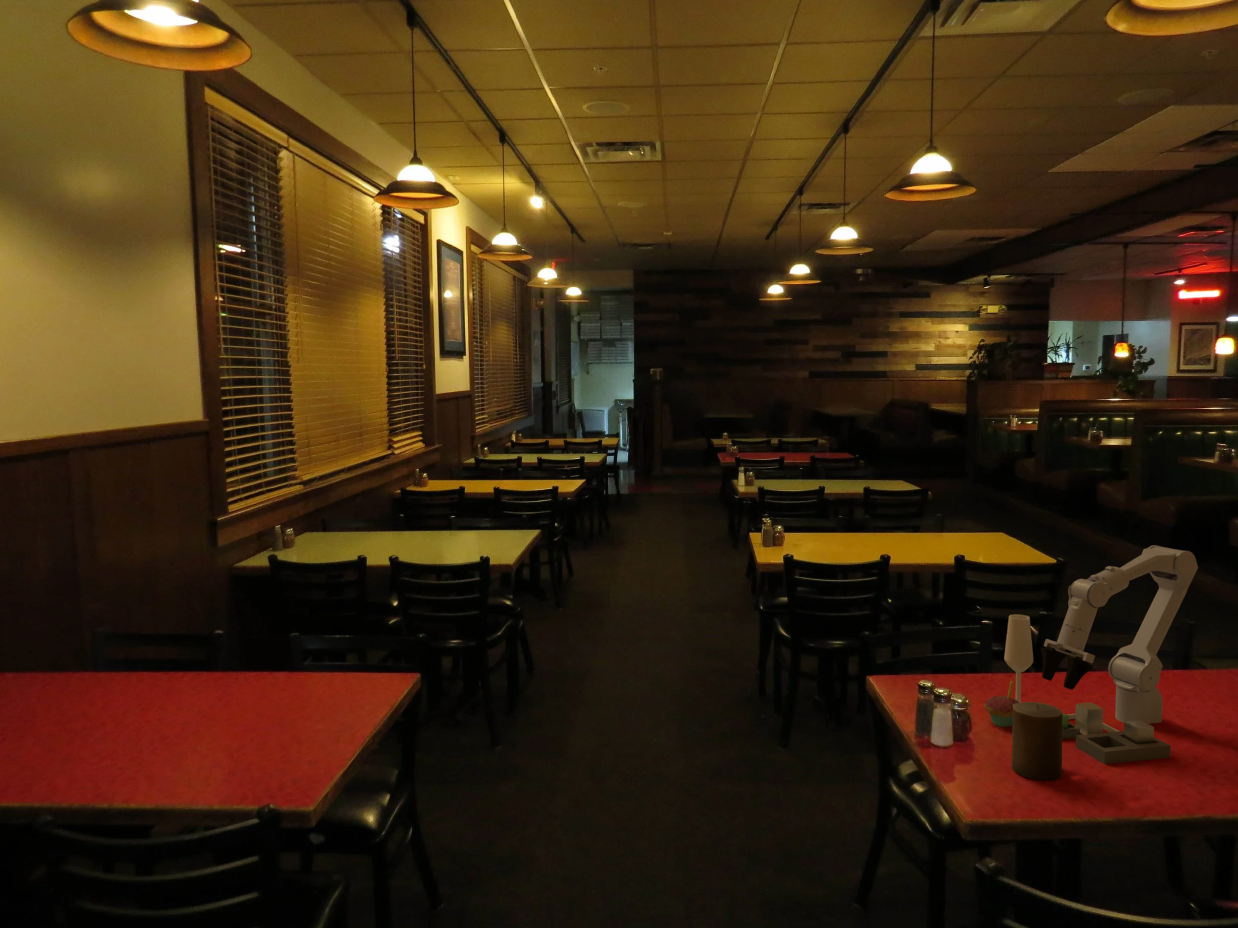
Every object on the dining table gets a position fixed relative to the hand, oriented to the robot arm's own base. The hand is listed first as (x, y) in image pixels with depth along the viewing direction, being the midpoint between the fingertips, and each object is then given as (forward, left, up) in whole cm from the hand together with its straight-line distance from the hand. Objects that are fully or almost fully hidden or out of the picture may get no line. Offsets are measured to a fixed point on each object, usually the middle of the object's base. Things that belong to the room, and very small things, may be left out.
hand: (1057, 683), depth 200 cm
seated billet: (-11, +13, -12) cm, 20 cm away
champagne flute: (-2, -17, -13) cm, 21 cm away
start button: (0, +1, -11) cm, 11 cm away
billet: (-8, 0, -12) cm, 14 cm away
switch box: (0, +1, -12) cm, 13 cm away
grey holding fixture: (-7, +13, -12) cm, 19 cm away
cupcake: (+8, -8, -13) cm, 17 cm away
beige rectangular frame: (-8, 0, -12) cm, 15 cm away
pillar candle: (+16, +16, -13) cm, 26 cm away
